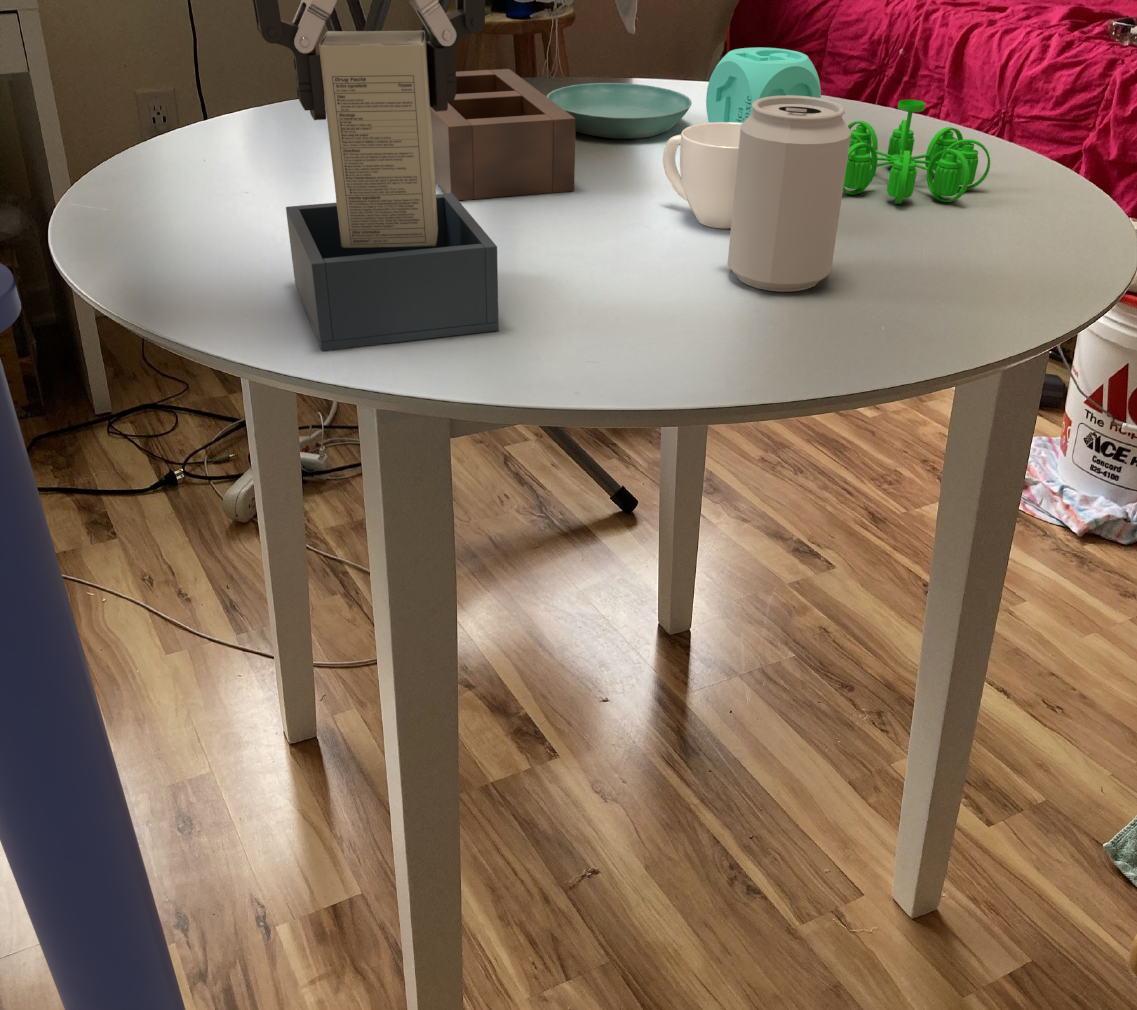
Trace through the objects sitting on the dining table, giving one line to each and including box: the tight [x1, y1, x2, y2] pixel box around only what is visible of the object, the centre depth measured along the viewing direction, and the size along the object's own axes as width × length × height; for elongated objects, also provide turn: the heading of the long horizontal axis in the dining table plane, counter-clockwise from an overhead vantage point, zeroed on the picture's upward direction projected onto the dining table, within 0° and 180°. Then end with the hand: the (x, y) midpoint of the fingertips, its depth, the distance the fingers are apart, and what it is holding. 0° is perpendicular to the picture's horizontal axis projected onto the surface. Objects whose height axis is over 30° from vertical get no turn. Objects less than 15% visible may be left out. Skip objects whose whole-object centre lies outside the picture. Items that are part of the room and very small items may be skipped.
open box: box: [285, 193, 500, 351], centre depth 79 cm, size 12×12×6 cm
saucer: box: [546, 82, 693, 140], centre depth 120 cm, size 15×15×3 cm
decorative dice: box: [705, 47, 822, 123], centre depth 114 cm, size 8×8×8 cm
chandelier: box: [843, 99, 991, 205], centre depth 103 cm, size 15×15×7 cm
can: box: [727, 95, 852, 293], centre depth 83 cm, size 8×8×12 cm
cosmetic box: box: [318, 29, 438, 248], centre depth 74 cm, size 6×4×12 cm
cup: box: [662, 122, 742, 230], centre depth 95 cm, size 8×10×7 cm
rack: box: [430, 68, 576, 201], centre depth 107 cm, size 11×20×6 cm, turn 19°
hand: (378, 112), depth 73 cm, fingers closed on cosmetic box, 7 cm apart
